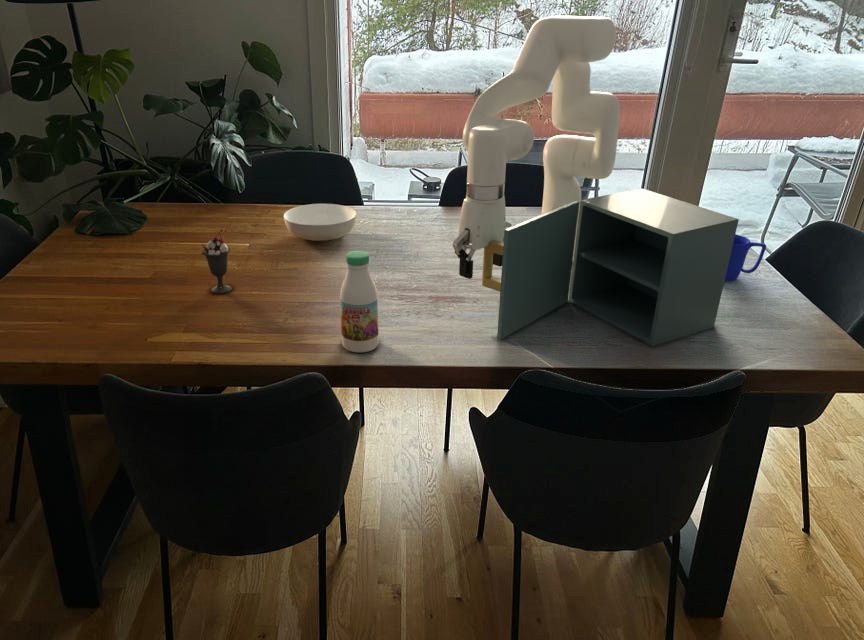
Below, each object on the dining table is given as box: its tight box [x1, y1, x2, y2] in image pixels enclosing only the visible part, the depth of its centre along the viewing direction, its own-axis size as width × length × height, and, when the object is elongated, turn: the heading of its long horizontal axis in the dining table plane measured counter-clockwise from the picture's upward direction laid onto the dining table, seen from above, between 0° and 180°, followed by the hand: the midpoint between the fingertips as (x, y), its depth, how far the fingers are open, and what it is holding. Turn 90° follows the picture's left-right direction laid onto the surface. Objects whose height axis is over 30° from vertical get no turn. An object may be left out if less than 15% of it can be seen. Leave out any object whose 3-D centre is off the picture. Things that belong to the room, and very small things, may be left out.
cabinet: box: [568, 188, 740, 347], centre depth 155 cm, size 18×26×24 cm
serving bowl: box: [283, 203, 357, 242], centre depth 208 cm, size 21×21×7 cm
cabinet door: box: [481, 201, 579, 340], centre depth 155 cm, size 8×26×24 cm, turn 136°
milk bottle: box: [339, 250, 380, 353], centre depth 145 cm, size 8×8×20 cm
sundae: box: [201, 229, 233, 295], centre depth 173 cm, size 7×7×15 cm
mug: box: [724, 234, 767, 282], centre depth 176 cm, size 8×12×10 cm
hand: (481, 270), depth 152 cm, fingers open, 9 cm apart
